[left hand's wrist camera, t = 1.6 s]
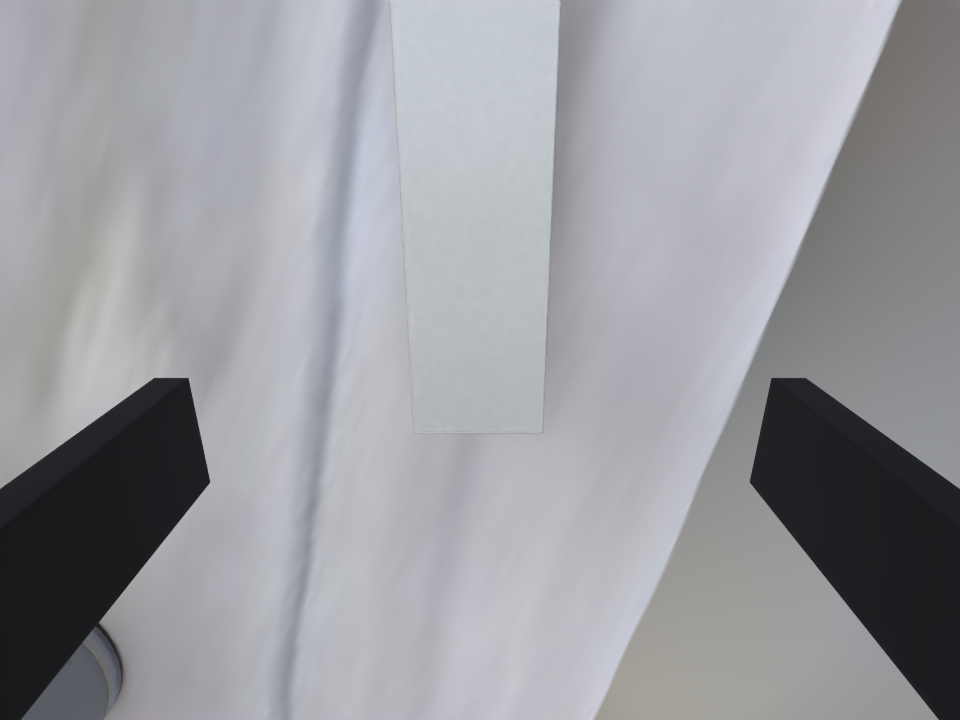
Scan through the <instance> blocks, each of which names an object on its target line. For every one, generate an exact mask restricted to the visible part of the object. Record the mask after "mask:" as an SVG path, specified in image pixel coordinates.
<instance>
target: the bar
mask: <svg viewBox="0 0 960 720" xmlns="http://www.w3.org/2000/svg"><path fill="white" fill-rule="evenodd" d="M560 6H561V0H390V13H391V31H392V50H393V68H394V86H395V104H396V122H397V140H398V158H399V176H400V194H401V212H402V231H403V249H404V267H405V285H406V303H407V321H408V339H409V357H410V375H411V393H412V411H413V430H414V434H489V433H543V416H544V392H545V368H546V344H547V319H548V295H549V271H550V247H551V223H552V199H553V175H554V151H555V126H556V102H557V78H558V54H559V30H560Z"/></svg>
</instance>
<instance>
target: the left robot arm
mask: <svg viewBox="0 0 960 720" xmlns="http://www.w3.org/2000/svg"><path fill="white" fill-rule="evenodd" d="M209 483H210V479H209V474H208V469H207V464H206V460H205V455H204V450H203V445H202V441H201V436H200V431H199V426H198V422H197V417H196V412H195V407H194V402H193V398H192V393H191V388H190V383H189V379H188V378H154V379H152V380H151V381H150V382H148V383H147V384H145V385H144V386H143V387H141V388H140V389H139V390H137V391H136V392H134V393H133V394H132V395H130V396H129V397H127V398H126V399H125V400H123V401H122V402H120V403H119V404H118V405H116V406H115V407H114V408H112V409H111V410H109V411H108V412H107V413H105V414H104V415H102V416H101V417H100V418H98V419H97V420H95V421H94V422H93V423H91V424H90V425H89V426H87V427H86V428H84V429H83V430H82V431H80V432H79V433H77V434H76V435H75V436H73V437H72V438H70V439H69V440H68V441H66V442H65V443H64V444H62V445H61V446H59V447H58V448H57V449H55V450H54V451H52V452H51V453H50V454H48V455H47V456H45V457H44V458H43V459H41V460H40V461H39V462H37V463H36V464H34V465H33V466H32V467H30V468H29V469H27V470H26V471H25V472H23V473H22V474H20V475H19V476H18V477H16V478H15V479H14V480H12V481H11V482H9V483H8V484H7V485H5V486H4V487H2V488H1V489H0V720H103V719H104V717H105V716H106V714H107V713H108V711H109V710H110V708H111V707H112V705H113V704H114V702H115V700H116V698H117V696H118V694H119V691H120V686H121V669H120V664H119V660H118V658H117V655H116V653H115V651H114V649H113V647H112V645H111V644H110V642H109V640H108V639H107V637H106V636H105V635H104V634H103V632H102V631H101V630H100V629H99V628H98V627H97V626H96V625H97V624H98V623H99V621H100V620H101V619H102V618H103V616H104V615H105V614H106V613H107V611H108V610H109V609H110V607H111V606H112V605H113V604H114V602H115V601H116V600H117V599H118V597H119V596H120V595H121V594H122V592H123V591H124V590H125V589H126V587H127V586H128V585H129V584H130V582H131V581H132V580H133V579H134V577H135V576H136V575H137V574H138V572H139V571H140V570H141V569H142V567H143V566H144V565H145V564H146V562H147V561H148V560H149V559H150V557H151V556H152V555H153V554H154V552H155V551H156V550H157V548H158V547H159V546H160V545H161V543H162V542H163V541H164V540H165V538H166V537H167V536H168V535H169V533H170V532H171V531H172V530H173V528H174V527H175V526H176V525H177V523H178V522H179V521H180V520H181V518H182V517H183V516H184V515H185V513H186V512H187V511H188V510H189V508H190V507H191V506H192V505H193V503H194V502H195V501H196V500H197V498H198V497H199V496H200V495H201V493H202V492H203V491H204V489H205V488H206V487H207V486H208V484H209ZM750 483H751V484H752V486H753V487H754V488H755V489H756V491H757V492H758V493H759V495H760V496H761V497H762V498H763V500H764V501H765V502H766V503H767V505H768V506H769V507H770V508H771V510H772V511H773V512H774V513H775V515H776V516H777V517H778V518H779V520H780V521H781V522H782V523H783V525H784V526H785V527H786V528H787V530H788V531H789V532H790V533H791V535H792V536H793V537H794V538H795V540H796V541H797V542H798V543H799V545H800V546H801V547H802V548H803V550H804V551H805V552H806V553H807V555H808V556H809V557H810V559H811V560H812V561H813V562H814V563H815V565H816V566H817V567H818V569H819V570H820V571H821V572H822V574H823V575H824V576H825V577H826V579H827V580H828V581H829V582H830V584H831V585H832V586H833V587H834V589H835V590H836V591H837V592H838V594H839V595H840V596H841V597H842V599H843V600H844V601H845V602H846V604H847V605H848V606H849V607H850V609H851V610H852V611H853V613H854V614H855V615H856V616H857V618H858V619H859V620H860V621H861V623H862V624H863V625H864V626H865V628H866V629H867V630H868V631H869V633H870V634H871V635H872V636H873V638H874V639H875V640H876V641H877V643H878V644H879V645H880V646H881V648H882V649H883V650H884V651H885V653H886V654H887V655H888V656H889V658H890V659H891V660H892V661H893V663H894V664H895V665H896V666H897V668H898V669H899V670H900V671H901V673H902V674H903V675H904V676H905V678H906V679H907V680H908V682H909V683H910V684H911V685H912V687H913V688H914V689H915V690H916V692H917V693H918V694H919V695H920V697H921V698H922V699H923V700H924V702H925V703H926V704H927V705H928V707H929V708H930V709H931V710H932V712H933V713H934V714H935V715H936V717H937V718H938V719H939V720H960V489H959V488H958V487H956V486H955V485H953V484H952V483H951V482H949V481H948V480H946V479H945V478H944V477H942V476H941V475H940V474H938V473H937V472H935V471H934V470H933V469H931V468H930V467H928V466H927V465H926V464H924V463H923V462H921V461H920V460H919V459H917V458H916V457H915V456H913V455H912V454H910V453H909V452H908V451H906V450H905V449H903V448H902V447H901V446H899V445H898V444H896V443H895V442H894V441H892V440H891V439H890V438H888V437H887V436H885V435H884V434H883V433H881V432H880V431H878V430H877V429H876V428H874V427H873V426H871V425H870V424H869V423H867V422H866V421H865V420H863V419H862V418H860V417H859V416H858V415H856V414H855V413H853V412H852V411H851V410H849V409H848V408H846V407H845V406H844V405H842V404H841V403H839V402H838V401H837V400H835V399H834V398H833V397H831V396H830V395H828V394H827V393H826V392H824V391H823V390H821V389H820V388H819V387H817V386H816V385H815V384H813V383H812V382H810V381H809V380H808V379H806V378H772V379H771V383H770V388H769V393H768V398H767V403H766V407H765V412H764V417H763V422H762V426H761V431H760V436H759V441H758V445H757V450H756V455H755V460H754V464H753V469H752V474H751V479H750Z"/></svg>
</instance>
